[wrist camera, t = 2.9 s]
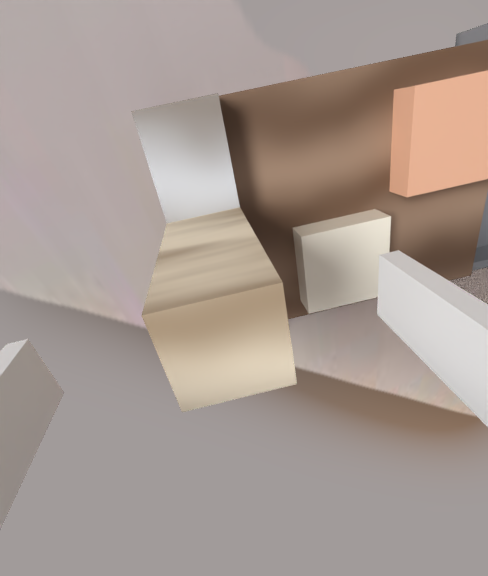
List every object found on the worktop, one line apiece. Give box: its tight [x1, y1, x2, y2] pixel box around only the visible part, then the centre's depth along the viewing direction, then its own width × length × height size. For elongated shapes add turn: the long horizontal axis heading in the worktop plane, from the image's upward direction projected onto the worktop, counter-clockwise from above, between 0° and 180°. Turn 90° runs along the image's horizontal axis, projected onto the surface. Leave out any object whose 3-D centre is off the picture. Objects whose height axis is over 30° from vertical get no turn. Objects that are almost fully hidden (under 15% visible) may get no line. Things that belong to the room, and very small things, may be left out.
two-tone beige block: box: [131, 93, 297, 412], centre depth 16 cm, size 16×4×12 cm, turn 11°
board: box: [219, 40, 488, 319], centre depth 24 cm, size 16×22×5 cm
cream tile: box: [293, 209, 391, 314], centre depth 22 cm, size 6×6×2 cm
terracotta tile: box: [389, 70, 488, 197], centre depth 19 cm, size 6×6×2 cm
